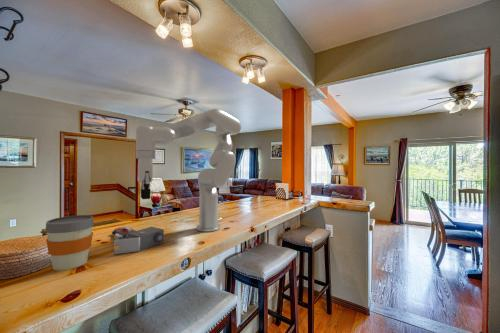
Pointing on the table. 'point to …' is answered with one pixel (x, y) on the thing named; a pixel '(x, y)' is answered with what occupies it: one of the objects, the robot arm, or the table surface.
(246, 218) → the table surface
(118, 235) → the walkie-talkie
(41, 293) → the table surface
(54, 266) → the reusable coffee cup
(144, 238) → the camera body
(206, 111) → the robot arm
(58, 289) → the table surface
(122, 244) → the side door
